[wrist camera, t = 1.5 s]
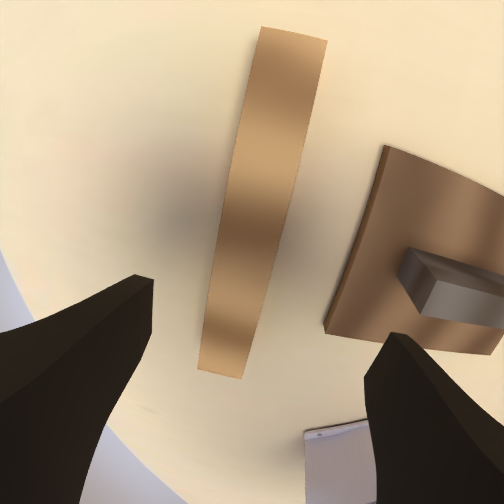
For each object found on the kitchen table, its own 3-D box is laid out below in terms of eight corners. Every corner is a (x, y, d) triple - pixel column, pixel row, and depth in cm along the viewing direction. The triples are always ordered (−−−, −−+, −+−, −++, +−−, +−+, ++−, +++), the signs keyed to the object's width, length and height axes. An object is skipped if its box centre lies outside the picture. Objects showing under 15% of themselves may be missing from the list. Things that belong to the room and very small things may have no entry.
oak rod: (246, 350, 22) (241, 379, 19) (206, 341, 22) (197, 369, 19) (319, 54, 14) (327, 40, 11) (264, 42, 14) (261, 26, 11)
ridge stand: (323, 324, 20) (331, 378, 15) (384, 144, 15) (422, 156, 10) (485, 348, 20) (509, 386, 15) (547, 222, 15) (586, 248, 10)
